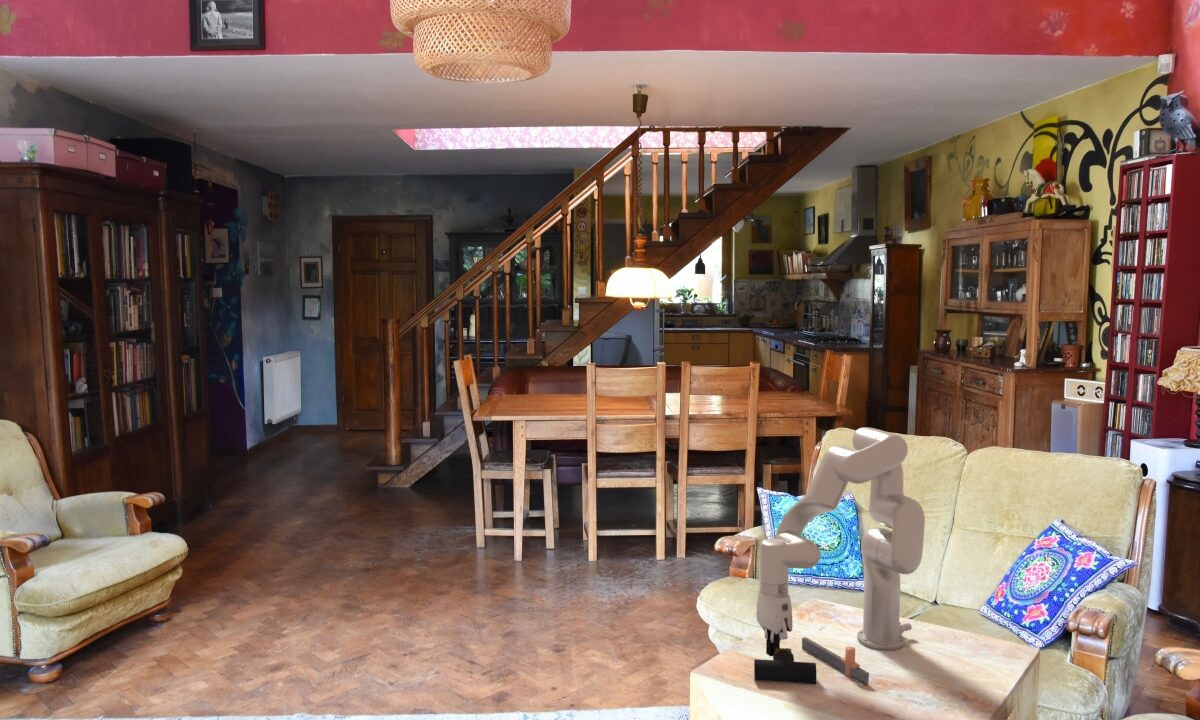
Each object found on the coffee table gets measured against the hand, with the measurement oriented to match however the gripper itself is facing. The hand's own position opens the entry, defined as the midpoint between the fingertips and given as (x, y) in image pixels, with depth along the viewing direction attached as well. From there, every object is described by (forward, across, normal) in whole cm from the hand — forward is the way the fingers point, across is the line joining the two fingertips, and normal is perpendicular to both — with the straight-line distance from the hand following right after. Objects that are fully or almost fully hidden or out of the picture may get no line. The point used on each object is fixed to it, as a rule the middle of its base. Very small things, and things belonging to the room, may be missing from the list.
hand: (772, 654), depth 225 cm
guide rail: (+2, -10, -12) cm, 16 cm away
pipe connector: (+2, -8, +2) cm, 9 cm away
